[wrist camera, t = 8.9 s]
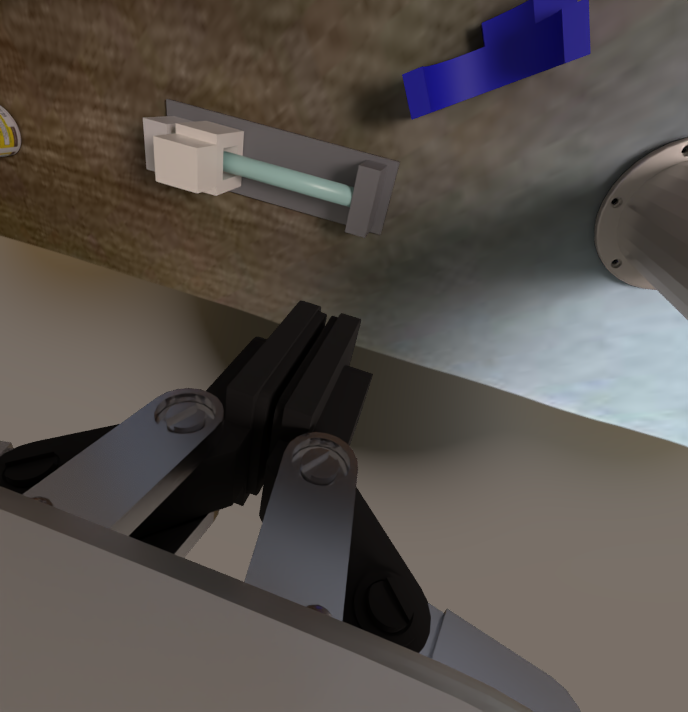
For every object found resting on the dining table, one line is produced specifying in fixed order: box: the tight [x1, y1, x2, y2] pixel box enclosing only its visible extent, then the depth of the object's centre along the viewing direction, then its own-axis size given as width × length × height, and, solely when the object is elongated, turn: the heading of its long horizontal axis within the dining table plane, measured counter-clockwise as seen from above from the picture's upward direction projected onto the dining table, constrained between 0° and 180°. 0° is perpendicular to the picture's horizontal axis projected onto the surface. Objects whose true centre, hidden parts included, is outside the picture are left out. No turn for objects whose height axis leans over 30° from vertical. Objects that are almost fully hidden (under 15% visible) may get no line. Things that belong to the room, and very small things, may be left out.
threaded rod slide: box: [143, 99, 400, 238], centre depth 39 cm, size 24×7×5 cm, turn 78°
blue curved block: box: [402, 0, 590, 119], centre depth 30 cm, size 12×4×6 cm, turn 109°
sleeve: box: [153, 121, 244, 196], centre depth 37 cm, size 4×5×8 cm
